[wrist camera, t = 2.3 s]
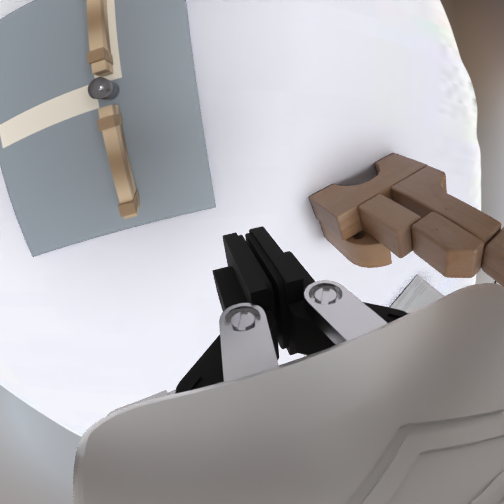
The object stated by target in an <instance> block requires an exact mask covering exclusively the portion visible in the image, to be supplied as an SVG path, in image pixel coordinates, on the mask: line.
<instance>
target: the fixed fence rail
mask: <svg viewBox="0 0 504 504" xmlns="http://www.w3.org/2000/svg"><path fill="white" fill-rule="evenodd" d="M87 22H88V36H89V48H90V51H89V52H87V59H88V63H89V64H91V66H92V74H95V75H97V76H100V77H104V76H107V75H110V74H113V66H112V65H113V57H112V54H111V49H110V39H109V28H108V14H107V0H87Z"/></svg>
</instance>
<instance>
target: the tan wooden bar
mask: <svg viewBox="0 0 504 504" xmlns="http://www.w3.org/2000/svg"><path fill="white" fill-rule="evenodd" d="M98 112H99V118H100V119H98V120H97V124H98V129H99V131H102V133H103V138H104V142H105V147H106V151H107V155H108V160H109V164H110V168H111V172H112V176H113V180H114V184H115V187H116V191H117V195H118V198H119V202H120V203H119V205H118V209H119V212H120V216H121V217H124V219H127V218H131V217H135V216H137V215H138V210H139V206H140V201H139V200H140V197H139V193H138V189H136V185H135V181H134V177H133V173H132V169H131V165H130V160H129V156H128V151H127V147H126V142H125V137H124V132H123V127H122V124H123V122H122V116H121V114H120V111H119V105H109V106H105V107H102V108H99V109H98Z"/></svg>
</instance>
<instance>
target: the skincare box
mask: <svg viewBox="0 0 504 504" xmlns="http://www.w3.org/2000/svg"><path fill="white" fill-rule="evenodd" d="M442 297H444V295H442V294H441V293H440V292H439V291H437V290H436V289H435V288H434V287H432V286H431V285H430V284H429V283H427V282H426V281H425V280H423V279H422V278H421V277H420V276H418V275H417V276H416V277H415V278H414V279H413V281H412V282H411V283H410V284H409V286H408V287H407V288H406V289H405V290H404V292H403V293H402V294H401V295H400V296H399V297H398V299H397V300H396V301H395V302H394V303H393V304H392V306H391V307H390V308H394V309H399V310H402V311H405V312H406V313H407V312H408V310H410V309H415V308H419V307H423V306H426V305H428V304H430V303H432V302H434V301H436V300H438V299H440V298H442Z"/></svg>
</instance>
